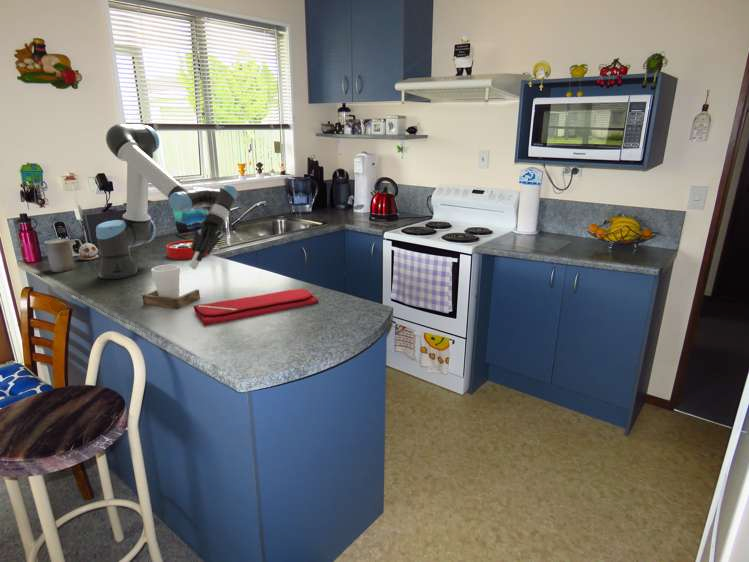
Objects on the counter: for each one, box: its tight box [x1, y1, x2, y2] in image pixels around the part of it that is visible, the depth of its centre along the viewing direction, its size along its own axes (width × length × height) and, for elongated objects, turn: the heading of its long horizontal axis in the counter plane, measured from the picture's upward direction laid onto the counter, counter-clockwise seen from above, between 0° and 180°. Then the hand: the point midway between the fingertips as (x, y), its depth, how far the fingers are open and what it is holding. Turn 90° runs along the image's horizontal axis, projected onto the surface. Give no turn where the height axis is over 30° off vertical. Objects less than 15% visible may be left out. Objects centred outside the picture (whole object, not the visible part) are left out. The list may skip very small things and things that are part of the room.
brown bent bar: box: [141, 289, 201, 310], centre depth 178 cm, size 12×15×4 cm
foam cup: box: [150, 264, 181, 299], centre depth 177 cm, size 10×9×13 cm
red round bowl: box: [166, 239, 209, 260], centre depth 247 cm, size 20×6×20 cm
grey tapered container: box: [44, 238, 76, 273], centre depth 220 cm, size 10×10×15 cm
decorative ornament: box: [78, 228, 100, 261], centre depth 239 cm, size 8×8×15 cm
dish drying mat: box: [193, 288, 319, 327], centre depth 171 cm, size 16×41×4 cm, turn 122°
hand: (192, 267), depth 187 cm, fingers closed
